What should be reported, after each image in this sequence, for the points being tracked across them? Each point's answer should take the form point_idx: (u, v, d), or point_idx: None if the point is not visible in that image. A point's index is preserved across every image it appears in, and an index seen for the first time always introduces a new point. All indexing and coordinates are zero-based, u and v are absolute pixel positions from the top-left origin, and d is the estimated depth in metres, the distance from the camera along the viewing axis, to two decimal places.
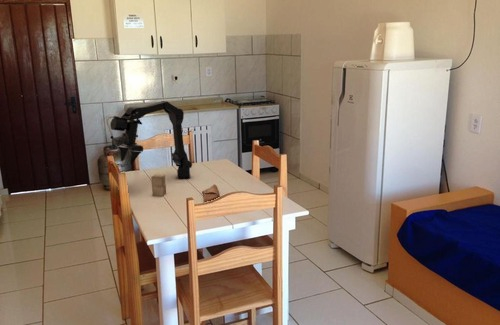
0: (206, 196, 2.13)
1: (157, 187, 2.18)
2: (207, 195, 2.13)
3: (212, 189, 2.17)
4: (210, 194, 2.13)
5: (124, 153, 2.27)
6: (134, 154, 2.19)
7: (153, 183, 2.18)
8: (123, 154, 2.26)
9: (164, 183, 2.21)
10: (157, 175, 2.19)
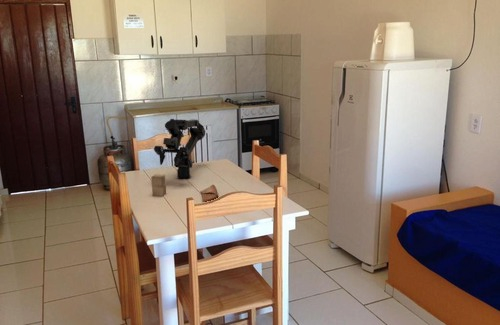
0: (205, 196, 2.13)
1: (157, 187, 2.18)
2: (206, 195, 2.13)
3: (211, 189, 2.17)
4: (209, 194, 2.13)
5: (163, 158, 2.32)
6: (179, 157, 2.30)
7: (153, 183, 2.18)
8: (162, 159, 2.32)
9: (164, 183, 2.21)
10: (157, 175, 2.19)
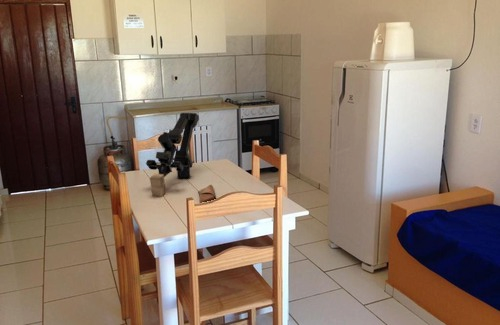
0: (202, 196, 2.12)
1: (157, 187, 2.17)
2: (203, 195, 2.13)
3: (208, 189, 2.17)
4: (206, 194, 2.13)
5: (162, 173, 2.24)
6: (165, 171, 2.24)
7: (152, 184, 2.17)
8: None
9: (163, 183, 2.20)
10: (156, 175, 2.18)
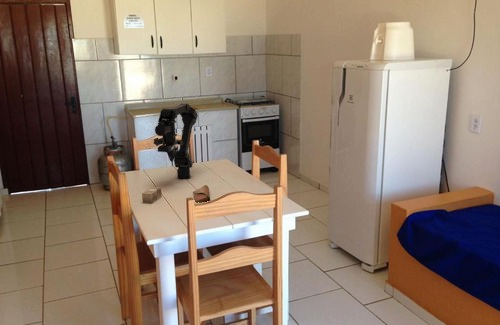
0: (196, 196, 2.12)
1: None
2: (197, 195, 2.13)
3: (202, 189, 2.17)
4: (200, 194, 2.13)
5: None
6: (170, 152, 2.31)
7: None
8: None
9: (155, 193, 2.12)
10: (145, 197, 2.09)
